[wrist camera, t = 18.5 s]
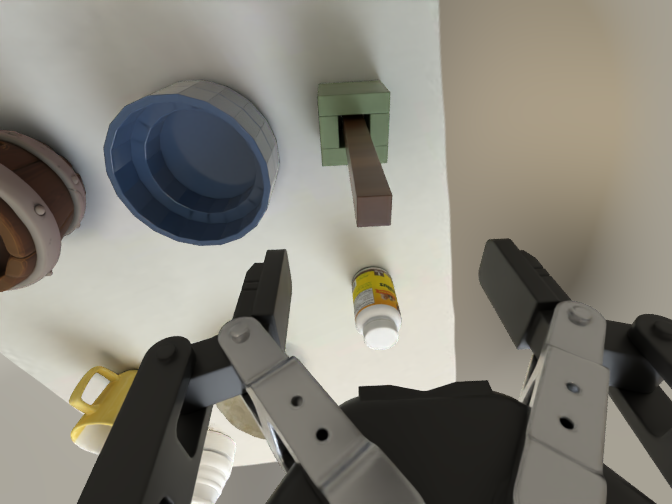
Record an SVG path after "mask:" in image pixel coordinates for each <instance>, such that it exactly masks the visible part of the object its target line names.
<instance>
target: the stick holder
mask: <svg viewBox="0 0 672 504" xmlns="http://www.w3.org/2000/svg"><path fill="white" fill-rule="evenodd" d="M317 99H318V113H319V127H320V141H321V155H322V166H336V165H348V162H347V155H346V149H345V142H344V135H343V129H338V115H357V114H364V120H365V123H366V125H367V128H368V131H369V133H370V136H371V139H372V142H373V144H374V147H375V150H376V152H377V155H378V158H379V161H380V163H387V156H388V134H389V111H390V92H389V90H388V89H387V88H386V87H385V86H384V84H383V83H382V82H381V81H380V80H378V81H359V82H341V83H322V84H319V86H318V96H317Z"/></svg>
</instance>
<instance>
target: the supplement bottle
mask: <svg viewBox="0 0 672 504" xmlns="http://www.w3.org/2000/svg"><path fill="white" fill-rule="evenodd" d="M352 292H353V303H354V314H355V324H356V328H357V330H358V332H359V333H360V334H361V335H362V336H364V341H365V344H366V345H367V346H368V347H370V348H372V349H375V350H385V349H388V348H391V347H392V346H394V345H395V344H396V343H397V341H398V339H399V335H398V330H399V329H400V327H401V324H402V318H401V314H400V310H399V306H398V302H397V298H396V294H395V290H394V286H393V282H392V278H391V276H390V275H389V274H388V273H387V272H386V271H385V270H383V269H380V268H375V267H372V268H366V269H363V270H361V271H360V272H358V273H357V274H356V275H355V277H354V279H353V281H352Z"/></svg>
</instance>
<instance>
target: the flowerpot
mask: <svg viewBox="0 0 672 504" xmlns="http://www.w3.org/2000/svg"><path fill="white" fill-rule="evenodd" d="M85 194H86V192H85V188H84V185H83V183H82V180H81V177H80V175H79V174H77V173H75V172H74V171H73V169H72V165H71V164H70V163H69V162H68V161H67V160H66V159H65V158H64V157H62V156H60V155H57V154H56V153H55V152H54V151H53V149H52V148H51V147H49V146H48V145H46V144H44V143H42V142H40V141H38V140H36V139H33V138H30V137H28V136H25V135H23V134H20V133H18V132H16V131H8V130H0V292H3V291H8V290H15V289H20V288H23V287H27V286H29V285H31V284H34V283H36V282H37V281H39V280H41V279H42V278H43V277H45V276H51V275H52V274H53V272H52V269H53V267H54V266H55V265H56V263H57V261H58V259H59V256H60V251H61V240H62V239H63V237H64V236H66V235H68V234H70V233H71V232H73V231H74V230H75V229H76V228H79V227H80V222H81V220H82V218H83V216H84V213H85V208H86V197H85Z"/></svg>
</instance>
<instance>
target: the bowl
mask: <svg viewBox="0 0 672 504" xmlns="http://www.w3.org/2000/svg"><path fill="white" fill-rule="evenodd" d="M216 405H217V407H218V409H219V410H220V411H221V413H222V414H223V415H224V416H225V417H226V419H227V420H228V421H229V422H230V423H231V424H232V425H233V426H235V427H236V428H237V429H239V430H241V431H244V432H245V433H248V434H250V435H252V436H254V437H258V438H261V439H266V438H265V437H264V435H263V433H262V431H261V430H260V428H259V426H258V425H257V423H256V421H255V420H254V418H253V416H252V415H251V413H250V412H249V410H248V408H247V407H246V405H245V403H244V402H243V400H242V398H241V397H240V395H238V396H236V397H233V398H230V399H227V400H224V401H222V402H219V403H216Z"/></svg>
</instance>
